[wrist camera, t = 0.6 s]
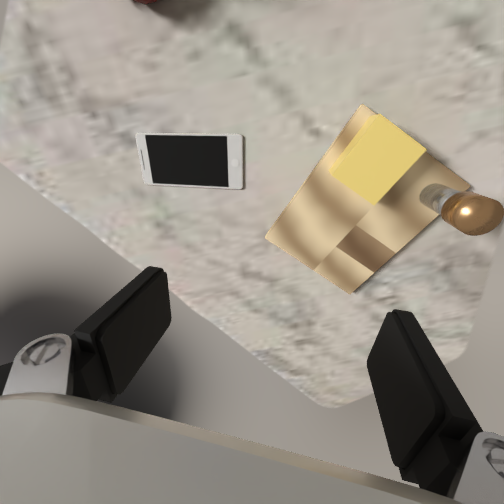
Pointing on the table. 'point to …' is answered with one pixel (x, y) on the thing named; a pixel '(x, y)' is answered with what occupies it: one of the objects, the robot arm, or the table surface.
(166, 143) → the smartphone
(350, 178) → the yellow rectangular block
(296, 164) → the table surface
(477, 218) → the two-tone metal cylinder
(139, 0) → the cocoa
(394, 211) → the subfloor panel
